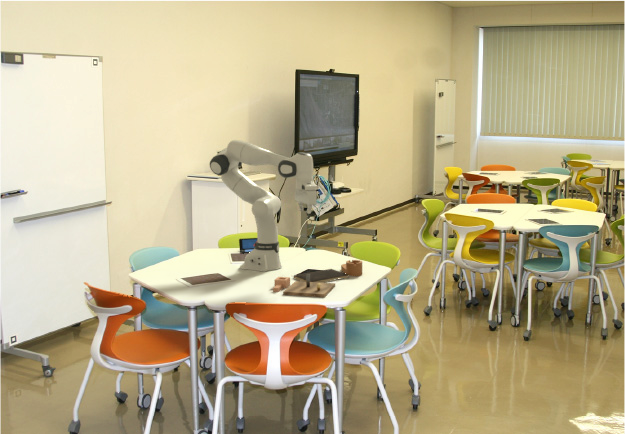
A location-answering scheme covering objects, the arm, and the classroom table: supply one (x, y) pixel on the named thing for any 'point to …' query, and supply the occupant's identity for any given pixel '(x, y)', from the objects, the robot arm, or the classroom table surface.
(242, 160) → the robot arm
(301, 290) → the board
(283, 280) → the orange square-holed tool
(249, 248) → the small monitor
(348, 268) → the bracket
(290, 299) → the classroom table surface
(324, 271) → the hardcover book
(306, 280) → the post
